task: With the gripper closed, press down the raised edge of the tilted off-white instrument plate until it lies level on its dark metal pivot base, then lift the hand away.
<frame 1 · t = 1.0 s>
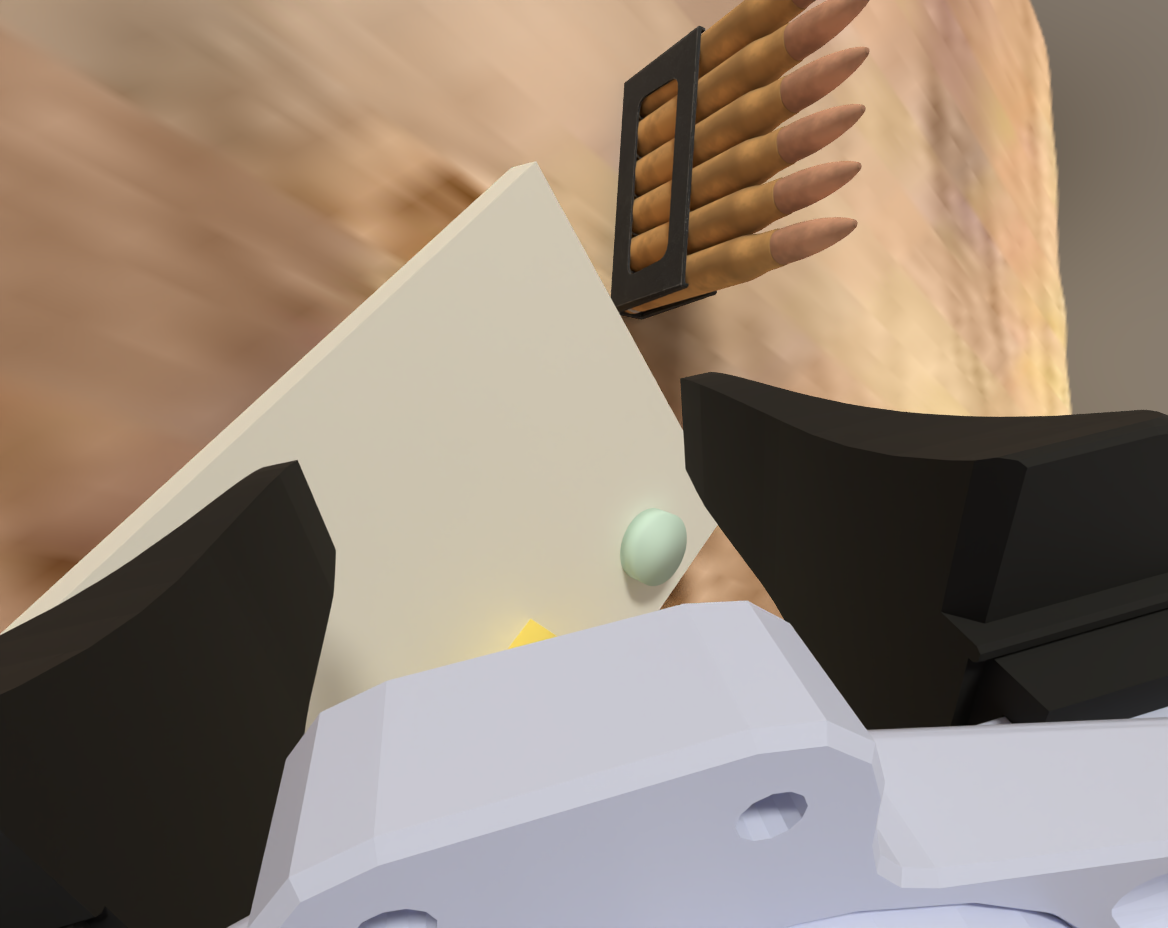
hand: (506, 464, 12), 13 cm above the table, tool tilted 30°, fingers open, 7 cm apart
instrument plate: (514, 594, 18), point 8 cm above the table, hinge at 14.0°
ammunition clip: (630, 204, 29), on the table
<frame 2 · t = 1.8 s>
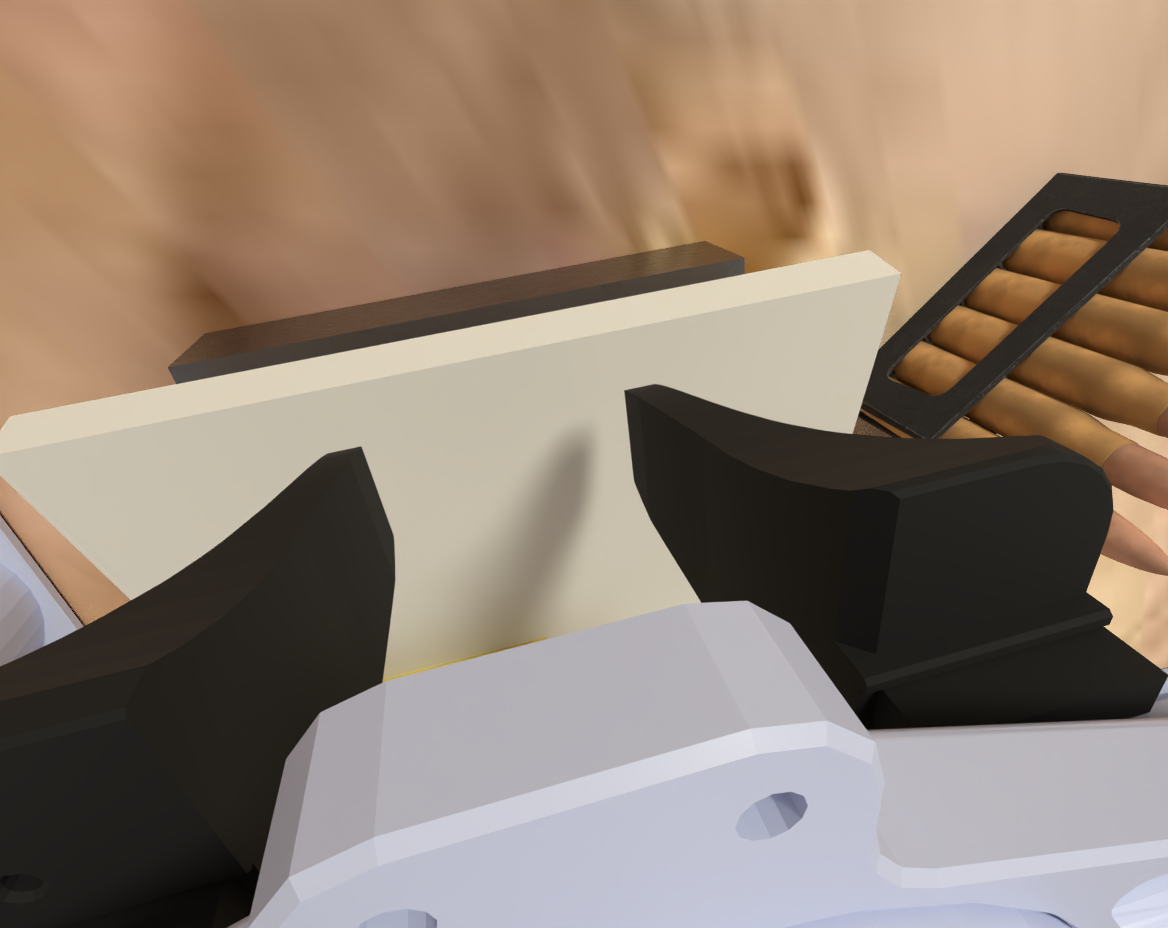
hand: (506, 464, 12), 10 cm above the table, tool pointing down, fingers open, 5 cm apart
leveling base: (509, 472, 23), on the table
instrument plate: (545, 633, 16), point 8 cm above the table, hinge at 14.0°
ammunition clip: (948, 301, 24), on the table
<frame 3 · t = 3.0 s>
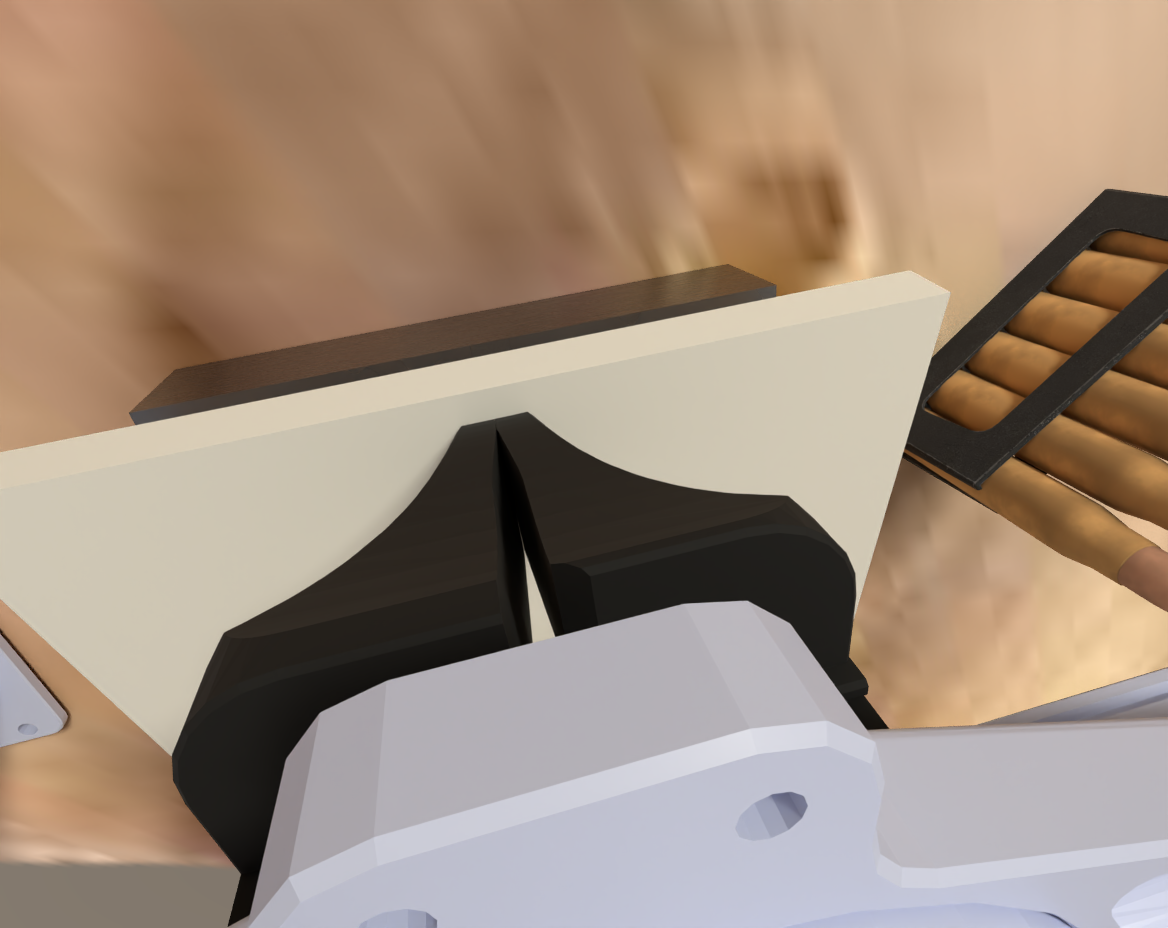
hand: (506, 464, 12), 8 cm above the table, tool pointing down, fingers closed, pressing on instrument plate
leveling base: (513, 513, 21), on the table
instrument plate: (557, 706, 14), point 8 cm above the table, hinge at 9.1°, touching gripper
ammunition clip: (985, 326, 22), on the table
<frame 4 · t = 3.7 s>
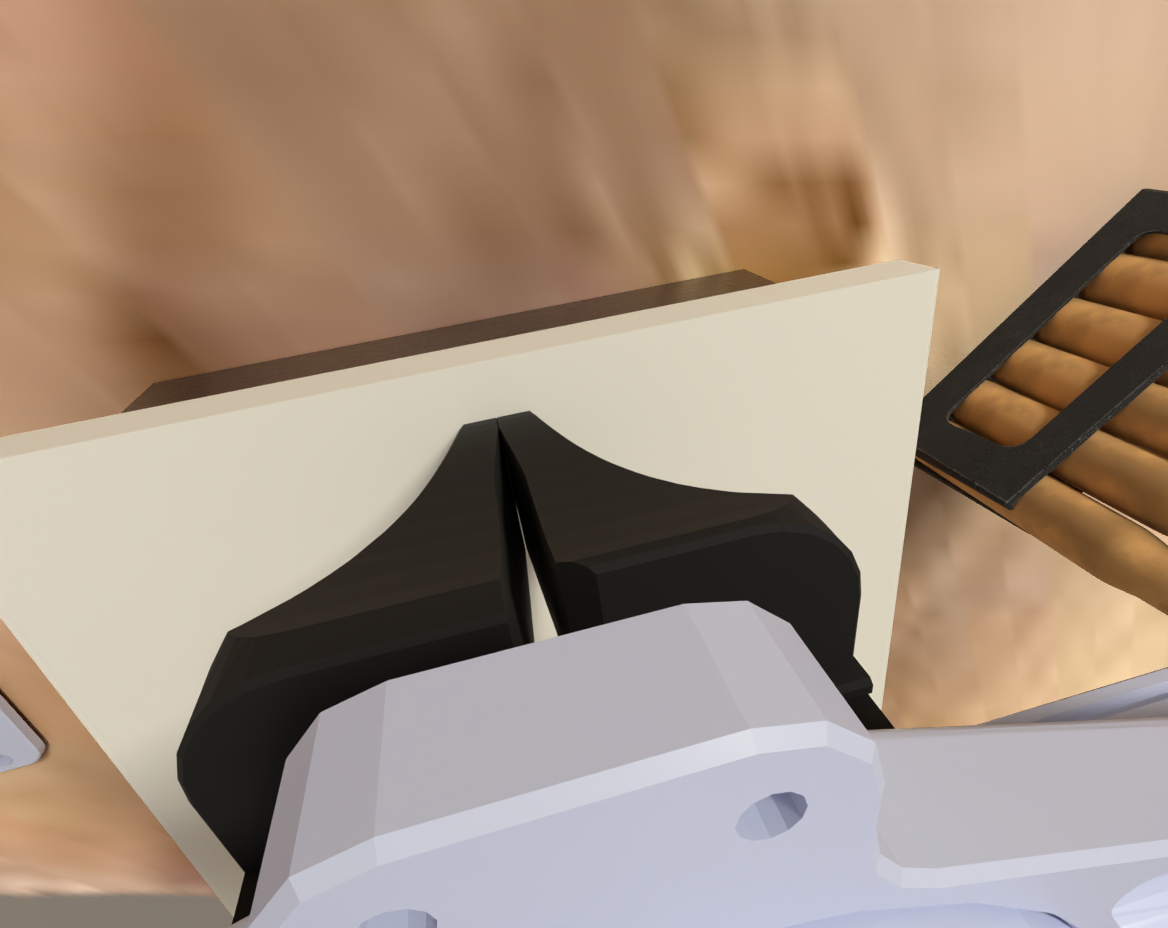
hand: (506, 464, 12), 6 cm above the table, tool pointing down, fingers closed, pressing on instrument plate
leveling base: (515, 531, 20), on the table
instrument plate: (560, 737, 13), point 8 cm above the table, hinge at -1.8°, touching gripper
ammunition clip: (1012, 333, 21), on the table
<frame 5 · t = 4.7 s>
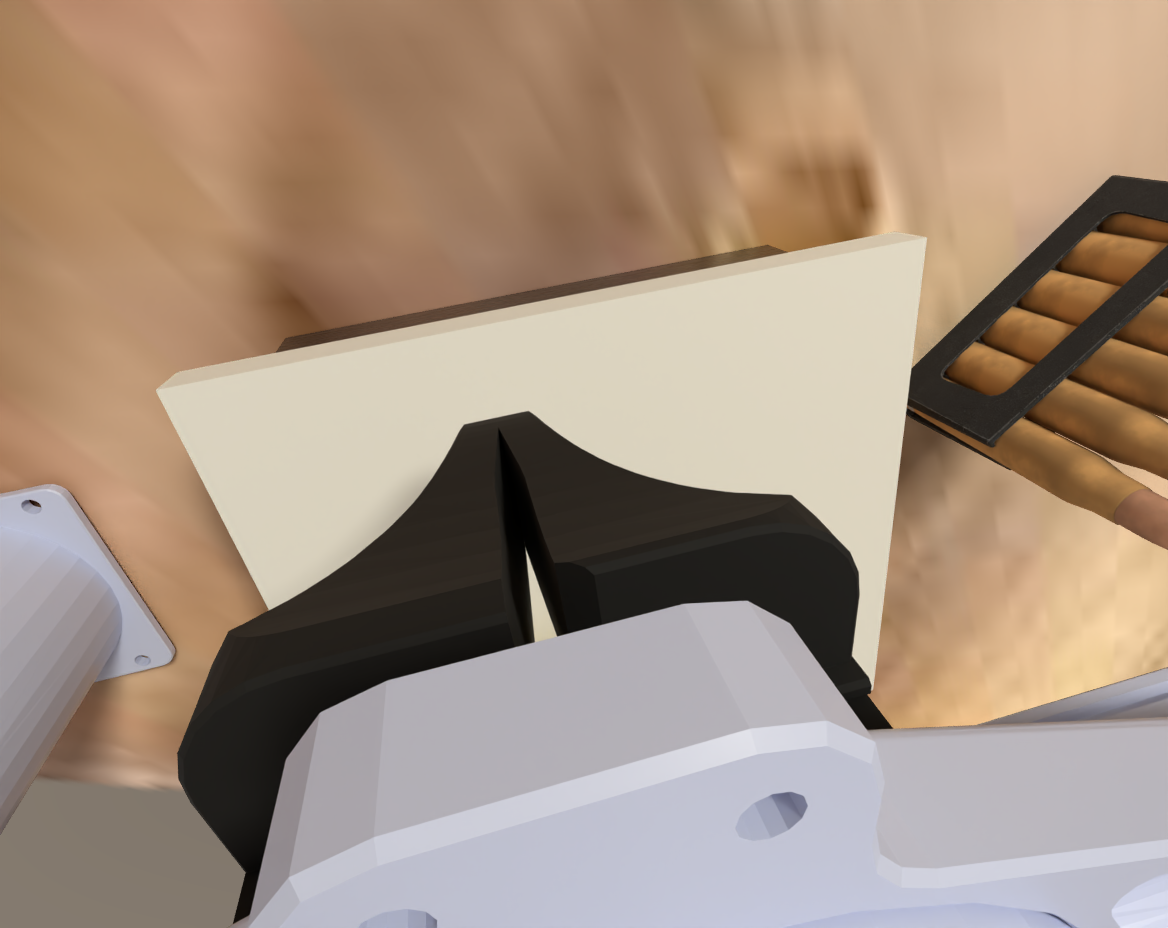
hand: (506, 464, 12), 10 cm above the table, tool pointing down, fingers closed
leveling base: (569, 471, 23), on the table
instrument plate: (624, 612, 17), point 8 cm above the table, hinge at -1.8°
ammunition clip: (999, 302, 24), on the table
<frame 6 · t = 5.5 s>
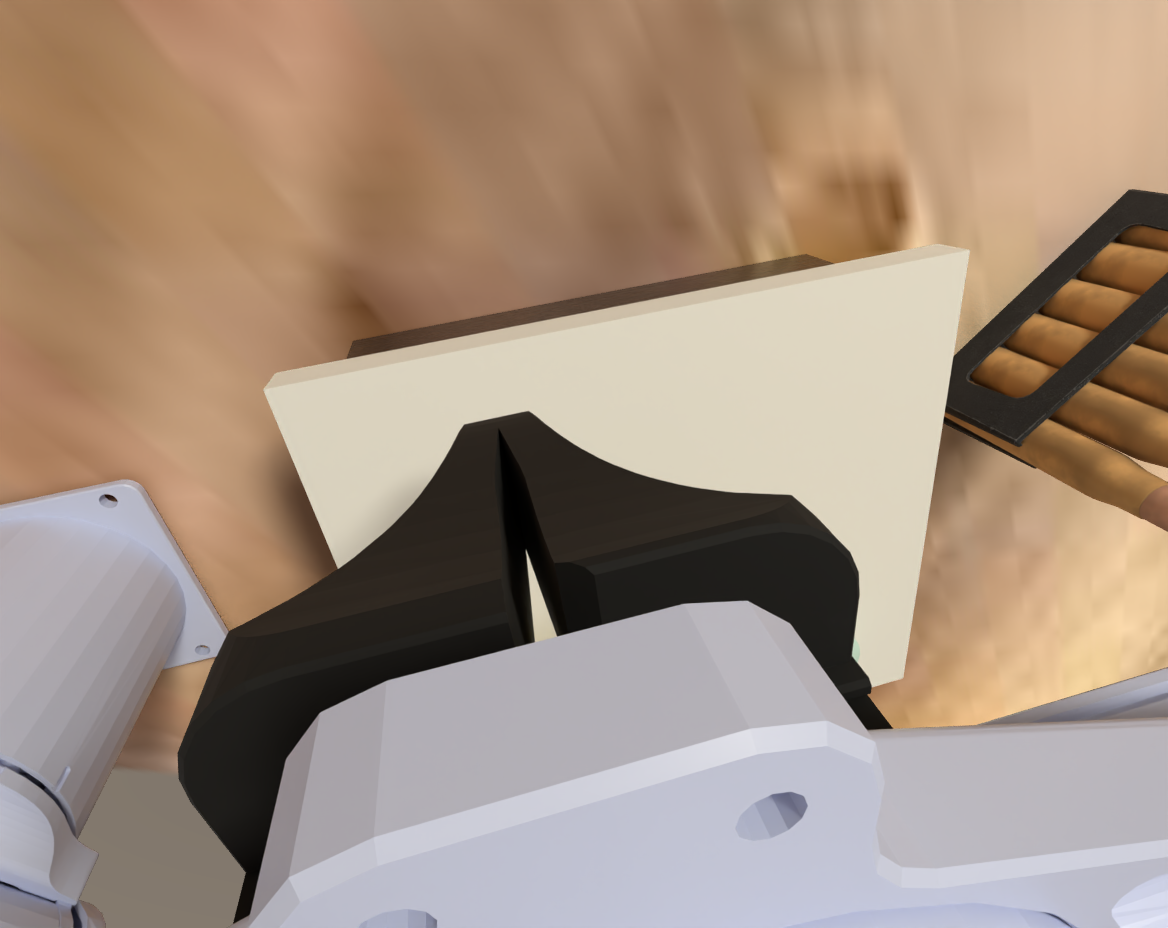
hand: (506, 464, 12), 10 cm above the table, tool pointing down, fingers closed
leveling base: (612, 469, 24), on the table
instrument plate: (681, 600, 18), point 8 cm above the table, hinge at -1.8°
ammunition clip: (1021, 309, 25), on the table
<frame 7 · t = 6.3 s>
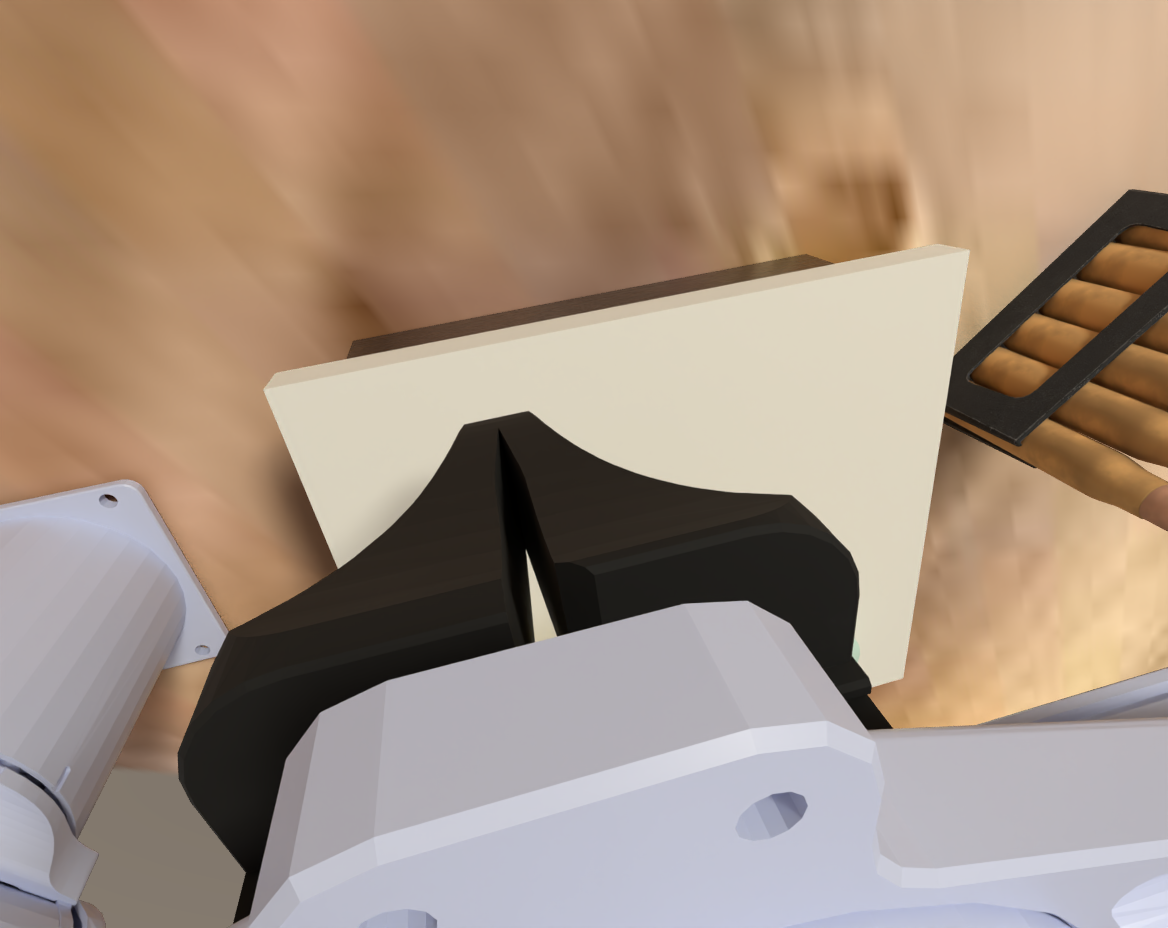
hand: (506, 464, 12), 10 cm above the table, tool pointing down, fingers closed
leveling base: (612, 469, 24), on the table
instrument plate: (681, 600, 18), point 8 cm above the table, hinge at -1.8°
ammunition clip: (1021, 309, 25), on the table
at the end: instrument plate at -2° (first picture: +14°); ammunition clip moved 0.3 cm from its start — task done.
